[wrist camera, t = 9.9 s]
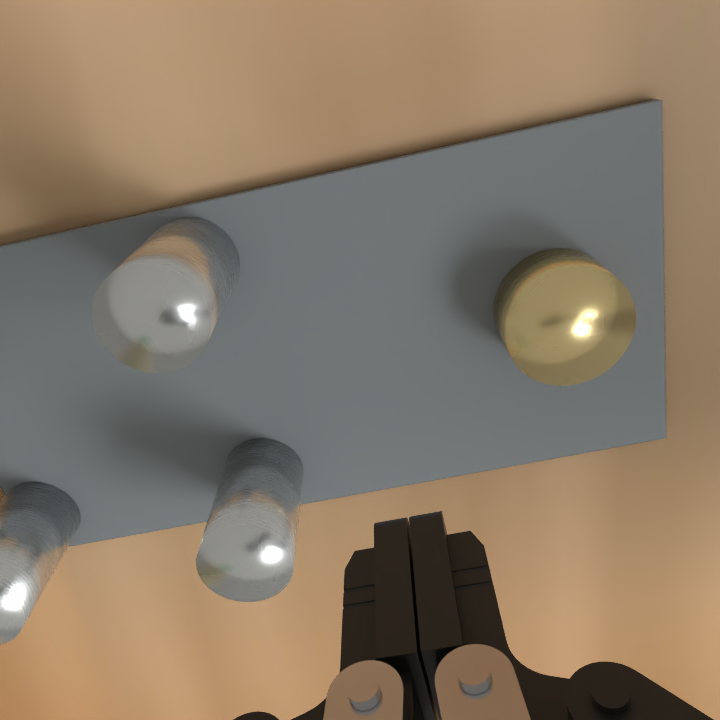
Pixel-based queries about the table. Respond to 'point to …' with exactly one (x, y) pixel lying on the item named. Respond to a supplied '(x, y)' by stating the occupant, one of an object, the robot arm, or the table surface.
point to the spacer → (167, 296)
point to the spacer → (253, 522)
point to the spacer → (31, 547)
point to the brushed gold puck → (563, 316)
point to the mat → (343, 329)
